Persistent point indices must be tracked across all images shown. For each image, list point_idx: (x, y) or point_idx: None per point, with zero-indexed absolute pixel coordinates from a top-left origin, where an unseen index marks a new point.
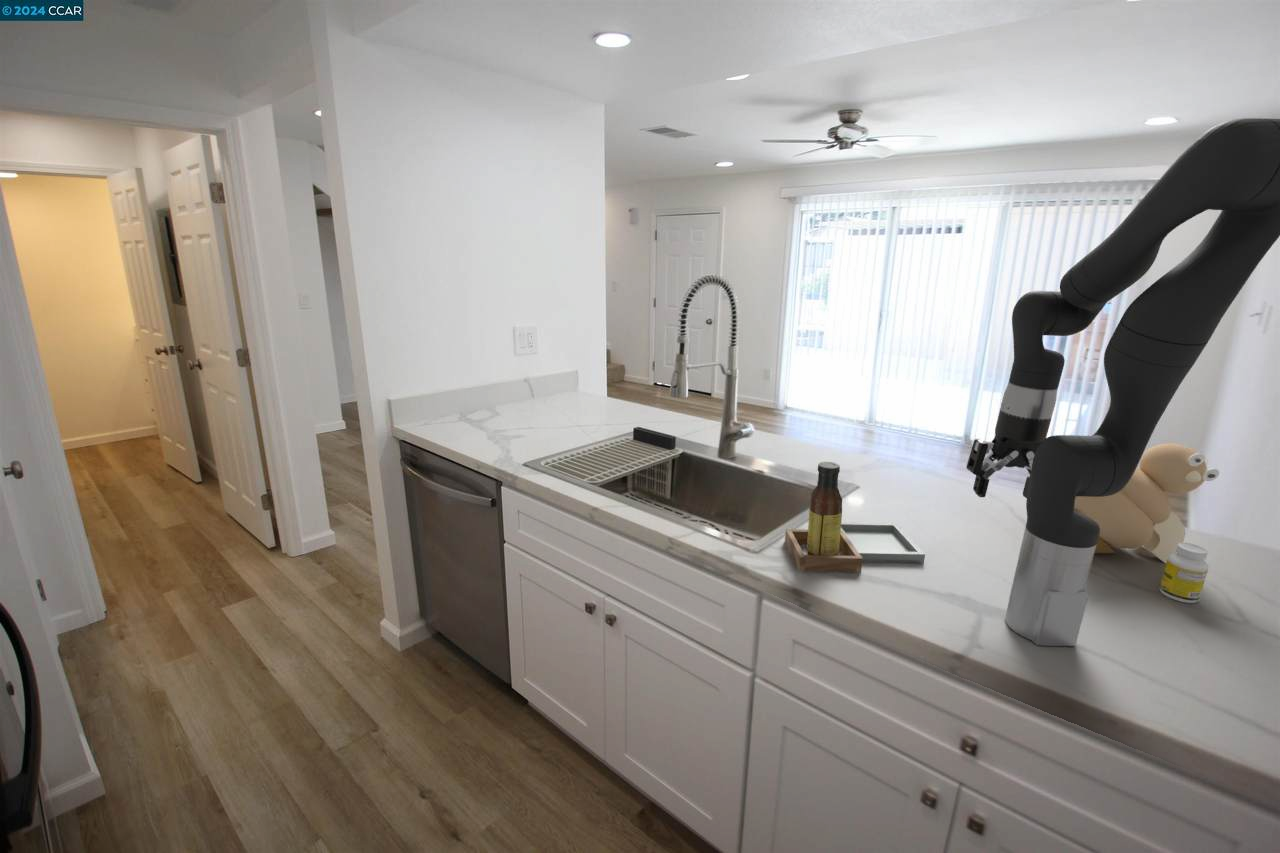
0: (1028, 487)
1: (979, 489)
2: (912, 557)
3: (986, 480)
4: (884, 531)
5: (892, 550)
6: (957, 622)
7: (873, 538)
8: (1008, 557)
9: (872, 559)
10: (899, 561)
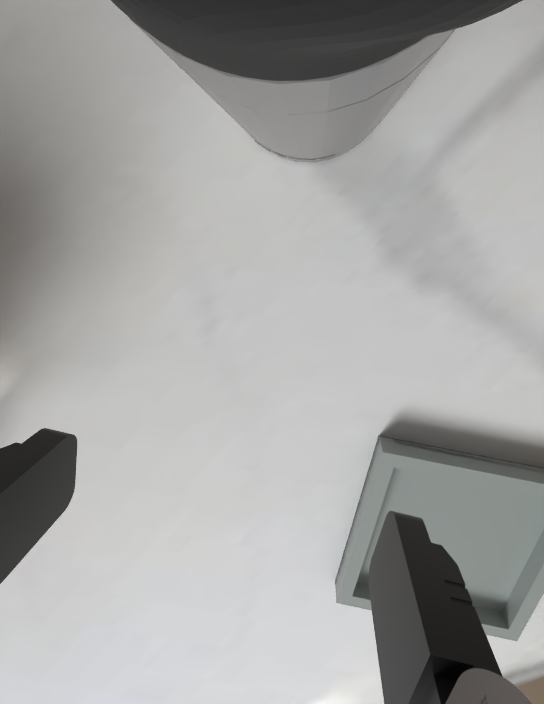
0: (22, 519)
1: (445, 576)
2: (416, 453)
3: (458, 646)
4: None
5: (429, 500)
6: (535, 136)
7: None
8: (116, 422)
9: (531, 470)
10: (449, 452)
